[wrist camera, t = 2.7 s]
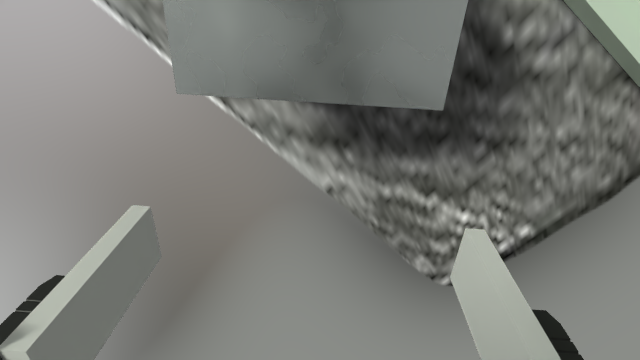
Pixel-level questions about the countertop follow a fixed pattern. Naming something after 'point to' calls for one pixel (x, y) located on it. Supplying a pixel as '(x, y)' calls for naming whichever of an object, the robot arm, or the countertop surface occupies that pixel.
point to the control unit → (316, 50)
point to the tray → (614, 29)
